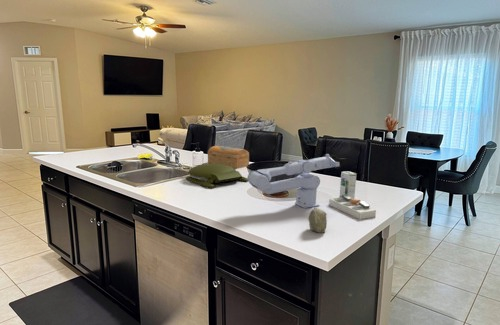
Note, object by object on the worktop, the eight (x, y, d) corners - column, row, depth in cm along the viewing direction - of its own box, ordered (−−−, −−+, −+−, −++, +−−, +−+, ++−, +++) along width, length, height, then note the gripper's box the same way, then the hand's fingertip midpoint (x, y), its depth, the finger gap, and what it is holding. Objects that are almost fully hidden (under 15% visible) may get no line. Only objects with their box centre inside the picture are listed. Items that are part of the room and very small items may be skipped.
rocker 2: (364, 208, 156) (365, 206, 156) (358, 204, 160) (358, 201, 159) (369, 207, 157) (369, 205, 157) (362, 203, 161) (363, 201, 160)
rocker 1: (356, 203, 161) (356, 200, 161) (349, 202, 165) (349, 199, 165) (360, 202, 162) (360, 199, 162) (354, 201, 166) (353, 199, 166)
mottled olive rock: (315, 239, 135) (312, 219, 131) (303, 229, 143) (300, 209, 138) (334, 229, 138) (332, 209, 134) (322, 219, 145) (319, 200, 141)
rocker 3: (347, 201, 167) (347, 198, 166) (341, 197, 170) (341, 194, 170) (351, 200, 168) (351, 198, 167) (345, 196, 171) (346, 194, 171)
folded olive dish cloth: (250, 182, 217) (250, 166, 215) (209, 190, 197) (209, 173, 196) (218, 172, 243) (218, 158, 241) (179, 178, 224) (179, 163, 222)
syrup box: (338, 198, 183) (340, 171, 180) (348, 197, 185) (350, 170, 182) (345, 201, 177) (347, 174, 175) (354, 200, 179) (356, 173, 177)
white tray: (359, 219, 152) (360, 212, 151) (329, 204, 172) (329, 198, 171) (375, 216, 156) (376, 209, 155) (343, 202, 175) (343, 196, 175)
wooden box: (250, 166, 265) (250, 148, 262) (236, 169, 252) (236, 150, 249) (222, 161, 283) (222, 144, 281) (207, 164, 271) (207, 146, 268)
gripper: (328, 157, 162) (351, 153, 167) (311, 153, 175) (332, 149, 180) (328, 172, 164) (351, 167, 169) (311, 166, 177) (332, 162, 182)
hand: (341, 159), depth 175 cm, fingers open, 7 cm apart
